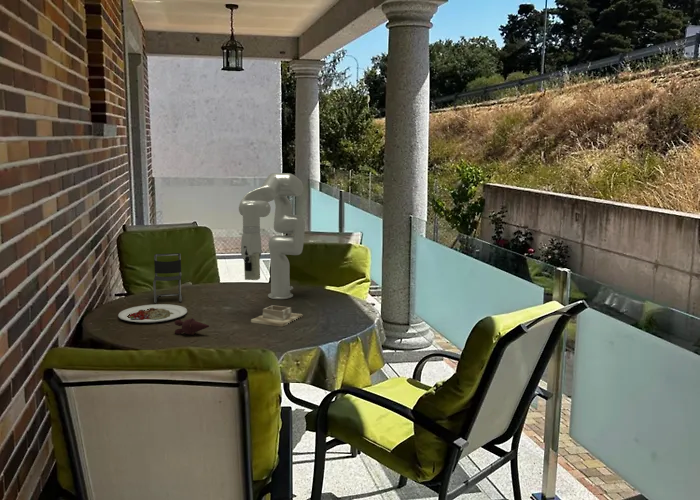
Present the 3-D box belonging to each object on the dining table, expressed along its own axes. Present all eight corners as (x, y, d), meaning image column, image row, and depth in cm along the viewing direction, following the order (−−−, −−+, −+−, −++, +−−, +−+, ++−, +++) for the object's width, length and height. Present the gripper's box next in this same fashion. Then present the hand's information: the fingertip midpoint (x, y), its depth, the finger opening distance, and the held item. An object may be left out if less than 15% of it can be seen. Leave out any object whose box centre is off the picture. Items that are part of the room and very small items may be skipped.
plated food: (200, 312, 306) (200, 305, 305) (156, 328, 279) (156, 321, 278) (150, 305, 318) (150, 298, 318) (103, 320, 291) (103, 313, 291)
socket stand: (272, 312, 304) (272, 301, 304) (302, 316, 298) (302, 305, 297) (250, 322, 288) (250, 310, 287) (282, 326, 282) (282, 315, 281)
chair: (182, 295, 338) (180, 253, 335) (181, 303, 322) (179, 259, 318) (156, 296, 336) (154, 253, 332) (153, 304, 319) (151, 259, 315)
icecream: (212, 317, 272) (178, 318, 275) (205, 317, 265) (170, 318, 268) (212, 334, 272) (178, 335, 274) (205, 335, 264) (170, 336, 267)
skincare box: (260, 278, 299) (260, 252, 297) (257, 280, 295) (257, 253, 293) (247, 278, 300) (246, 251, 298) (243, 279, 296) (243, 253, 294)
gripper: (255, 227, 303) (256, 265, 306) (233, 231, 288) (234, 272, 291) (269, 228, 300) (269, 267, 303) (247, 232, 284) (248, 273, 287)
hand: (252, 269), depth 297 cm, fingers closed on skincare box, 5 cm apart
